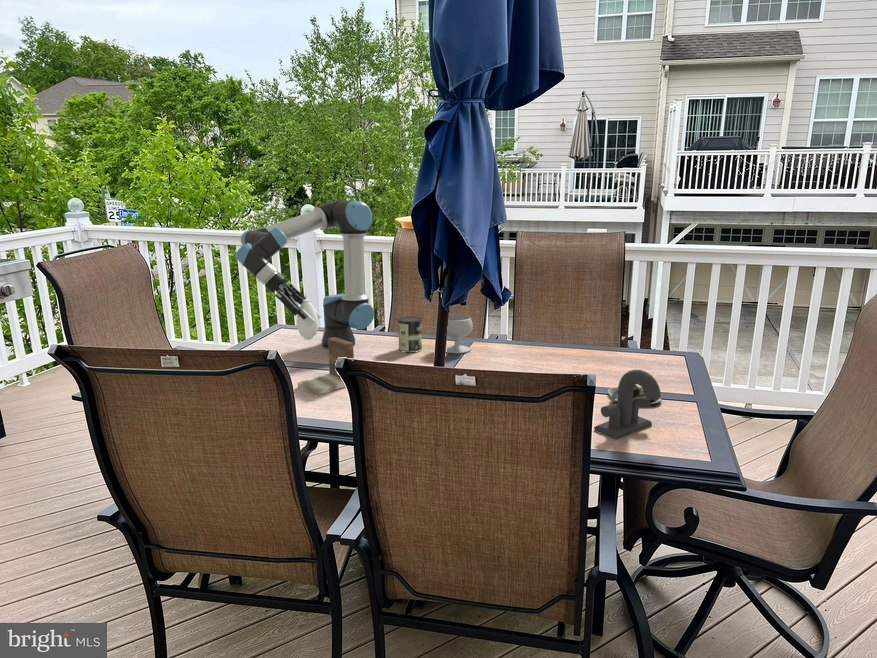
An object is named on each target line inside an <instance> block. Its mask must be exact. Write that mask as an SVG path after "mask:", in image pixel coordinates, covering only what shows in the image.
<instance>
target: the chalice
mask: <svg viewBox="0 0 877 658" xmlns="http://www.w3.org/2000/svg"><path fill="white" fill-rule="evenodd" d="M448 315H449V318H448V326H447V335H446V336H447V337H449V338H451V339H452V340H453V341H454V345H453V344H451V345H447V346H446V347H447V352H446V353H448V354H456V355H457V354H466V353H469V352H470V351H471V349H472V348H470V347H469V346H467V345H460V340H462V338H465V337H466V336H468V335H469V334H471V333H472V331H473V328H474V326H473V324H474V323H473V321H472V318H471V316H469V315H467V314H463V313H462V314H461V313H452V314H448Z"/></svg>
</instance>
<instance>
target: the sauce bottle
mask: <svg viewBox="0 0 877 658" xmlns="http://www.w3.org/2000/svg"><path fill="white" fill-rule="evenodd" d="M304 294H305V295H304V296H305V299H304V300H303V302H302V304H301V305H299V307H300V308H301V310H302V309H303V310H304V311H305V312H306V313H308V314H309V315H310V316H311V317H312V318H313V319H314V320H315V323H314V324H313V325H312V326H311V327H310V326H309V325H308V324H307V323H306V322H305V321H304V320H303V319H302V318H301V317H300V316H299V315H298V314H297V315H296V325H297V326H296V327H297V330H298V331H297V332H298V333H299V335H300V336H301V337H303V339H305V340H307V341H309V340H312V339H314V337H315V336H316V335H317V333H318V330H319V320H318V317H317V314H316V311H317V310H316V308H315V307H314V305H313V304H312V302H311V303H310V301H311V300H310V299H308V297H307V296H308V295H307V293H306V292H305V293H304ZM315 310H316V311H315Z"/></svg>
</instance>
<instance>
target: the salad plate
mask: <svg viewBox="0 0 877 658" xmlns="http://www.w3.org/2000/svg"><path fill="white" fill-rule="evenodd" d="M618 388H619V385H617V386H616V387H612V388H608V390H607V393H608V395H609V400H610V401H611V402H614V403H615V404H617V401H618ZM635 397H646V396H645V392H644V390H643V388H642V387H641V386H638V385H637V384H636V385H635V386H634V389H633V398H635ZM650 402H651V404H650V407H649V408H653V407H657V406H658V405H660V404H661V402H662V397H661V398H660V399H658V400H651V399H650Z"/></svg>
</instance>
